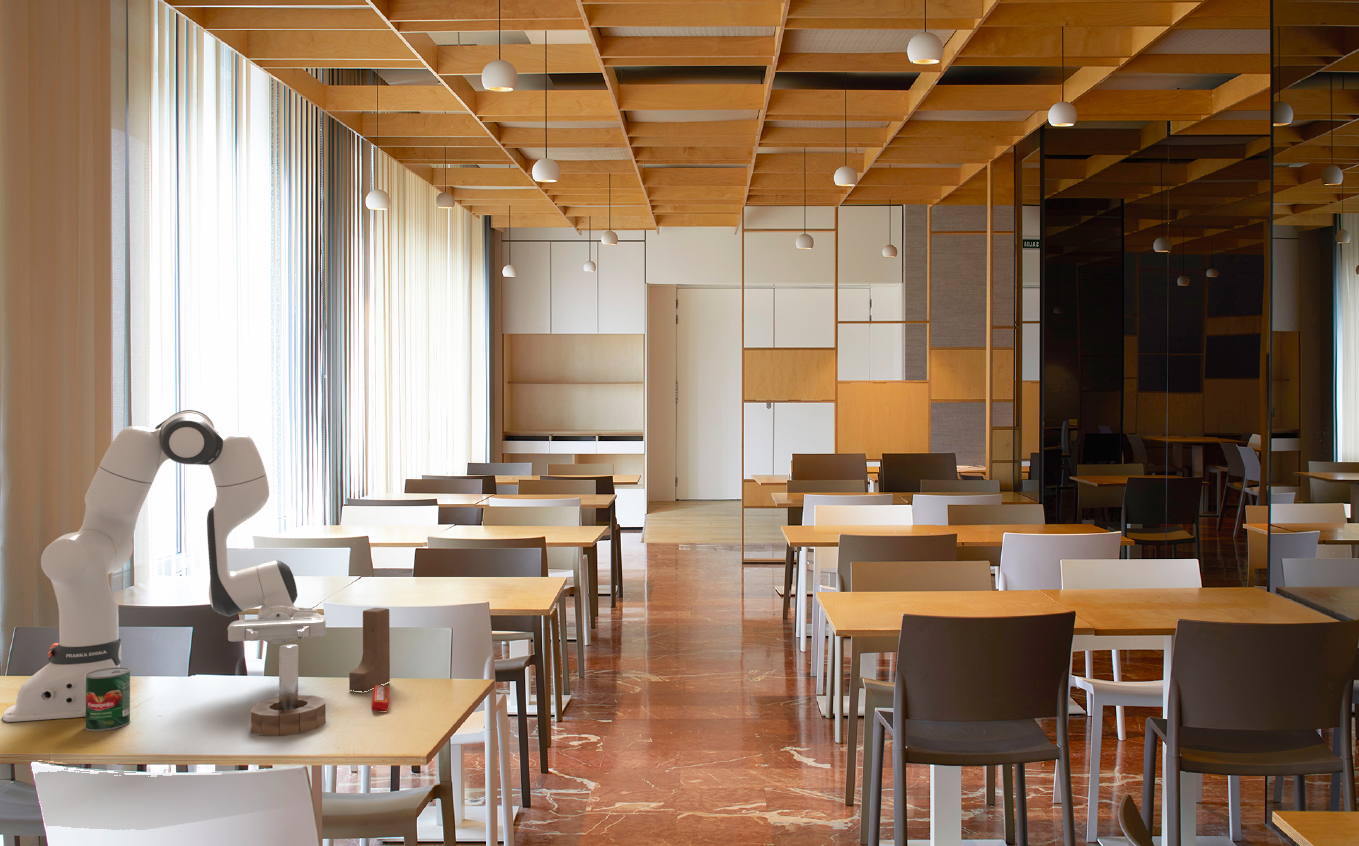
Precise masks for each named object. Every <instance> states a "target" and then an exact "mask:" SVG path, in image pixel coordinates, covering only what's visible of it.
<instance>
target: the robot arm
mask: <svg viewBox="0 0 1359 846" xmlns="http://www.w3.org/2000/svg"><path fill="white" fill-rule="evenodd" d="M169 459H170V460H172V461H173V462H175V463H178V464H182V465H199V466H208V467H209V469H210V470H211V473H212V477H213V481H214V485H215V489H216V498H215V503H214V505H213V506H212V507H211V508H210V509H209V510H208V512H207V516H206V529H207V530H206V532H207V535H206V536H207V549H208V551H207V552H208V562H209V564H208V565H209V577H210V579H209V587H208V597H209V603H210V606H211V607H212V609H213V611H214V612H215V613H218V614H219V615H222V616H226V617H233V616H236V615H238V614H240V613H241V614H242V613H244V612H245V611H247V610H251V609H255V608H259V607H260V608H259V610H258V613H257V618H252V619H237V620H234V621H231V622H230V623H229V625H228V626H227V640H228V641H229V642H232V643H233V642H256V641H258V642H259V641H264V642H266V643H268V644H270V645H271V644H272V645H280V644H284V643H286V642H291V641H294V640H298V639H300V640H301V639H308V638H309V639H310V638H323V637H325V636H326V631H327V630H326V628H327V627H326V626H327V625H326V624H327V622H326V619H325V617H324V616H323V615H322V614H320V613H319V611H318V609H317V608H312V607H310V608H309V607H300V606H299V607H297V606H295V603H296V601H297V598H298V590H297V584H296V580H295V577H294V574H293V572H292V570H291V568H290V566H289V565H287V564H286V563H284V562H283V561H281V560H278V559H274V560H271V561H267V562H264V563H259V564H257V565H253V566H250V567H246V568H242V569H239V570H235V571H232V570H229V563H228V562H229V561H228V549H227V548H228V547H227V539H228V536H229V535H230V533H231V532H232V531H233V530H234V529H236V528H237V527H238V526H240V525H241V524H243V523H244V522H245V521H247V520H249V519H250V518H252V517H253V516H255V515H256V514H257V513H259V511H261V509H263V508H264V507H265V505H266V503H267V502H268V500H269V497H270V487H269V480H268V475H267V472H266V468H265V465H264V462H263V459H262V456H261V454H260V452H259V450H258V447H257V446H256V444H255V442H254V440H253V439H252V437H251V436H250V435H247V434H245V433H242V432H230V433H229V432H228V433H226V434H225V433H220V432H218V431H217V430H216V429H215V425H214V423H213V422H212V420H211V419H210V418H209V417H208V416H207V415H206V414H205V413H203V412H200V411H199V410H194V409H186V410H185V409H184V410H182V411H181V410H180V411H178V412H176V413H173V414H172V415H170V416H169V417H168V418H166V419H165V420H164V421H162V422H161V423H159V424H158V425H156V427H155V428H151V427H149V426H148V427H147V426H143V425H129V426H126V427H124V428H122V429H121V431H119V432H118V434H117V435H116V436H115V437H114V439H113V441H112V442H111V444H110V445H109V447H108V449H107V450H106V451H105V454H104V455H103V457H102V459H101V461H100V463H99V466H98V467H97V470H96V472H95V474H94V477H92V479H91V483H90V485H89V487H88V489H87V491H86V494H85V495H84V502H85V503H84V504H85V512H84V518H83V522H82V525H81V526H80V528H79V530H78V531H75V532H69V533H66V534H63V535H61V536H59V537H58V538H56V539H54V541H52V542H51V543H50V544H48V545H47V546H46V547H45V548H44V550H43V552H42V554H41V556H40V557H41V558H40V566H41V570H42V571H43V573H44V575H45V576H46V577H47V578H48V579H49V580H50V581H51V584H52V587H53V591H54V595H55V598H56V601H57V607H58V617H59V618H58V622H59V623H58V625H59V627H58V629H59V643H58V642H54V643H52V645H50V647H49V649H48V653H47V659H48V663H47V664H46V665H44V666H43V667H42V668H41V669H39V670H38V671H36V672H35V673H34V674H33V675H32V676H30V677H29V678H28V679H26V680H25V681H24V682H23V683H22V684H21V685H20V688H19V690H18V693H17V695H16V701H15V704H13V705H11V706H9V707H7V709H5V710H4V712H3V715H2V719H3V721H4V722H7V723H10V722H12V723H13V722H28V721H41V720H53V719H55V720H57V719H70V718H82V717H86V674H87V673H89V672H92V671H95V670H100V669H105V668H115V667H121V666H120V665H121V662H122V642H121V640H122V639H121V638H120V637H119V602H118V601H117V600H116V599H115V597H114V595H113V592H112V590H111V586H110V585H111V584H110V583H109V582H110V580H109V575H110V574H112V573H115V572H117V571H118V570H119V569H121V568H123V566H124V565H126V564H127V563H128V561H129V560H130V559H131V558H132V554H133V552H134V551H133V550H134V545H133V540H134V533H135V530H136V525H137V522H138V521H137V520H138V517H139V515H140V511H141V509H142V507H143V505H144V502H145V500H146V499H147V496H148V494H149V492H150V489H151V488H152V487H151V486H152V484H153V483H154V480H155V478H156V476H157V474H158V471H159V470H160V468H161V466H162V465H163V464H164V462H166V461H168V460H169Z"/></svg>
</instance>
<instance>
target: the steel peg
mask: <svg viewBox="0 0 1359 846" xmlns="http://www.w3.org/2000/svg"><path fill="white" fill-rule="evenodd" d="M278 650H279V651H278V657H279V659H278V669H279V670H278V676H279V677H278V698H279V710H291V709H297V708H298V695H299V645H298V644H283V645H280V646H278Z"/></svg>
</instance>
